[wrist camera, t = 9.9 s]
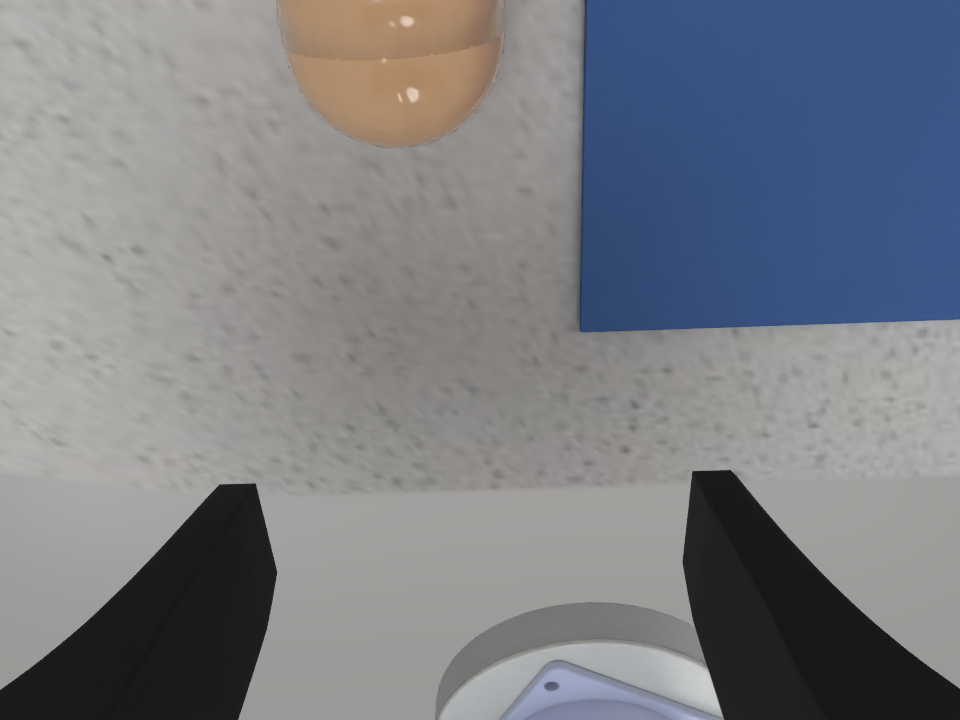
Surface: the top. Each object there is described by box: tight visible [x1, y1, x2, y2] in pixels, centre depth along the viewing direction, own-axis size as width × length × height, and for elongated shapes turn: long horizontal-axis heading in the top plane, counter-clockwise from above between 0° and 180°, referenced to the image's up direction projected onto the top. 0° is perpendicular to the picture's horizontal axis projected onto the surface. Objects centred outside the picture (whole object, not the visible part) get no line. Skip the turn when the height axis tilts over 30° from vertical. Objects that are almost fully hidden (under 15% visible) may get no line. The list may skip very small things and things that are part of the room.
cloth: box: [580, 0, 960, 332], centre depth 19 cm, size 16×12×1 cm
